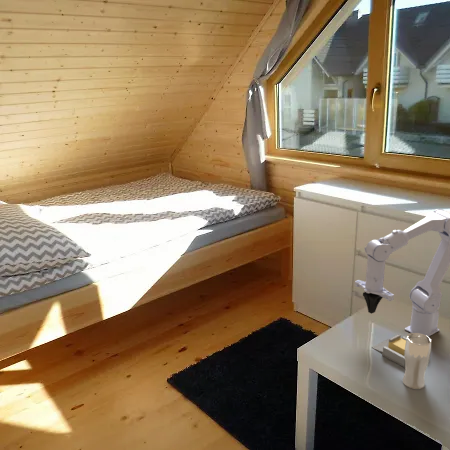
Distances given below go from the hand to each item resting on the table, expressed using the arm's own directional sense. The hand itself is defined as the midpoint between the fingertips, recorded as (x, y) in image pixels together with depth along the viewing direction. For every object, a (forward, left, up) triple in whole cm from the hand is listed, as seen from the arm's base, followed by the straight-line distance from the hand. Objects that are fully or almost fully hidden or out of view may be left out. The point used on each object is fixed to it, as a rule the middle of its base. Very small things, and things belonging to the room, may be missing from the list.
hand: (371, 312), depth 159 cm
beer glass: (+10, +24, -10) cm, 28 cm away
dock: (0, +11, -10) cm, 16 cm away
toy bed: (0, +14, -9) cm, 16 cm away
